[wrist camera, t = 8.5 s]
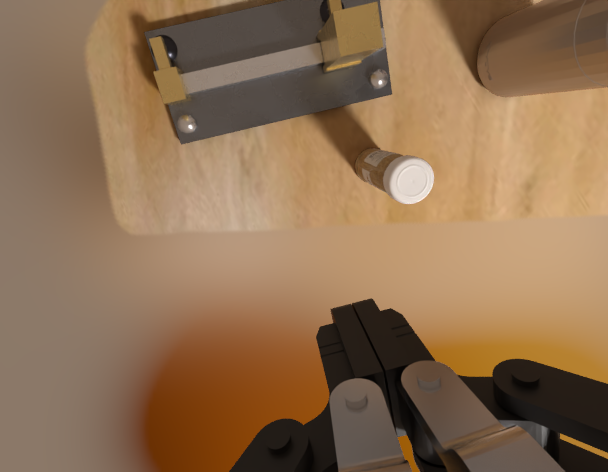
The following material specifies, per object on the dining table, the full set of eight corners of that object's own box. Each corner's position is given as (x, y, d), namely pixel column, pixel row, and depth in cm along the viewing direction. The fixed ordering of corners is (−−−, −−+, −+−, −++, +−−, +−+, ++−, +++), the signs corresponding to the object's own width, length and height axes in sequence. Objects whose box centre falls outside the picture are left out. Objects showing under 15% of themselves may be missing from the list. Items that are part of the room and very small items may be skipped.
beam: (374, -5, 39) (383, -15, 36) (382, 55, 41) (391, 50, 38) (151, 45, 38) (142, 39, 35) (170, 105, 40) (163, 103, 37)
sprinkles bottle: (353, 182, 47) (386, 204, 34) (355, 146, 45) (391, 156, 32) (386, 182, 47) (432, 205, 34) (390, 147, 46) (439, 157, 33)
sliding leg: (347, 0, 39) (372, -37, 30) (357, 65, 41) (383, 49, 32) (311, 8, 39) (326, -26, 30) (323, 73, 41) (340, 59, 32)
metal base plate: (373, -17, 40) (379, -24, 38) (388, 95, 44) (394, 93, 42) (147, 34, 39) (141, 30, 37) (183, 143, 43) (179, 144, 41)
